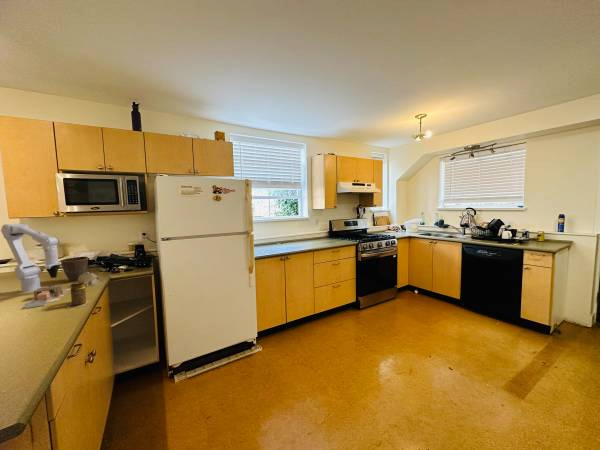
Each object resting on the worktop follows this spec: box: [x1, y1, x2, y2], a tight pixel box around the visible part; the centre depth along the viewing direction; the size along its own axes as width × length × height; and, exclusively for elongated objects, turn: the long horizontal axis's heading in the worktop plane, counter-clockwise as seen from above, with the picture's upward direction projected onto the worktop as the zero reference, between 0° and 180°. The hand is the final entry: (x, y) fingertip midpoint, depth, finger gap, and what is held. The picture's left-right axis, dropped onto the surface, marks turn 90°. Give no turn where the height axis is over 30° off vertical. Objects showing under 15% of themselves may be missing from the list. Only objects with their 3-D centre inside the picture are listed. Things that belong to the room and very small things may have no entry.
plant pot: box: [60, 256, 89, 283], centre depth 180 cm, size 15×15×16 cm
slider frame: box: [24, 284, 56, 309], centre depth 141 cm, size 23×7×5 cm, turn 27°
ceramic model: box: [77, 271, 102, 288], centre depth 167 cm, size 14×11×10 cm
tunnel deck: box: [21, 285, 71, 308], centre depth 147 cm, size 26×14×6 cm, turn 27°
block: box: [37, 291, 50, 300], centre depth 141 cm, size 4×4×4 cm
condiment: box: [66, 281, 89, 309], centre depth 136 cm, size 7×8×12 cm
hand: (53, 277), depth 156 cm, fingers closed
